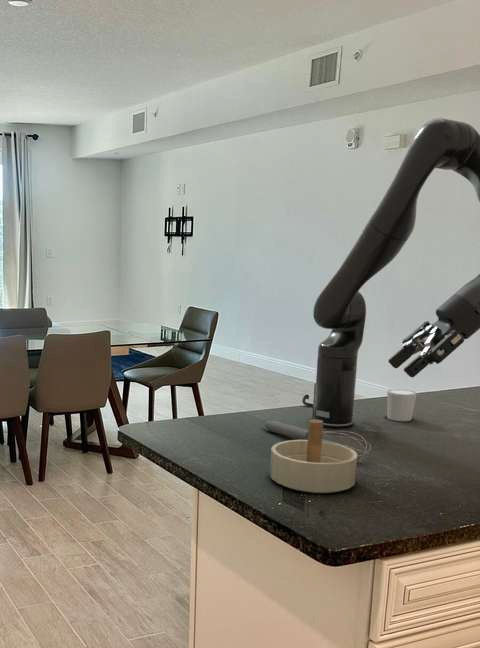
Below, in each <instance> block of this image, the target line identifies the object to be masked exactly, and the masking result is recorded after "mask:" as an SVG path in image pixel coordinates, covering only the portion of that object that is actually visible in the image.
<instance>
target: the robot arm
mask: <svg viewBox="0 0 480 648" xmlns="http://www.w3.org/2000/svg"><path fill="white" fill-rule="evenodd" d="M435 169H440V170H446V171H447V170H448V171H449V170H450V171H453V172H454V173H457V174H459V175H460V176H462V177H463V178H465V179H466V180H467V181H468V182H469V183H470V184H471V185H472V186H473V188H474V191H475V194H476V197H477V201H478V202H479V203H480V133H479V132H478V131H477V130H476V128H475V127H474V126H472V125H471V124H469V123H467V122H465V121H458V120H455V119H454V120H453V119H448V118H443V117H437V118H436V117H435V118H431V119H430V120H428V121H427V122H426V123H425V124H423V125H422V127H421V128H419V130H418V132H417V133H416V135H415V136H414V137H413V139H412V141H411V144H410V145H409V147H408V149H407V151H406V154H405V156H404V158H403V160H402V162H401V164H400V166H399V168H398V170H397V172H396V174H395V176H394V178H393V180H392V181H391V183H390V185H389V187H388V189H387V190H386V192H385V194H384V196H383V198H382V199H381V201H380V202H379V203H378V206H377V207H376V209H375V210H374V212H373V214H372V215H371V216H370V218H369V220H368V221H367V222H366V225H365V226H364V228H363V230H362V231H361V233H360V235H359V237H358V238H357V240H356V242H355V243H354V245H353V246H352V247H351V250H349V253H348V254H347V256H346V258H345V259H344V260H343V262H342V263H341V266H340V267H339V268H338V270H336V272H335V274H334V275H333V277H332V278H331V279H330V280H329V281H328V283H327V284H326V286H325V287H324V288H323V289H322V291H321V292H320V294H319V295H318V297H317V298H316V300H315V302H314V306H313V310H312V311H313V314H312V315H313V320H314V322H315V324H316V325H317V326H318V327H320V328H323V329H327V330H330V331H331V332H330V333H329V335H328V336H327V337H326V338H325V339H324V340H323V341H321V342H320V343H319V344H318V346H317V362H316V376H315V378H316V379H315V383H314V386H313V387H314V388H313V389H314V390H313V399H312V400H313V402H311V403H310V402H307V401H306V400H310V395H309V394H305V395H304V396H303V397H302V400H301V401H302V404H303V405H305V406H307V407H311V408H312V416H311V417H312V418H311V420H312V419H317V420H322V421H323V427H325V428H348V427H351V426H353V425H354V420H353V416H354V408H355V407H354V406H355V405H354V404H355V393H356V382H357V371H358V369H357V367H358V356H359V350H360V348H361V346H362V344H363V341H364V340H363V339H364V332H365V331H364V330H365V326H366V317H367V304H366V301H365V297H364V296H363V294H362V293H361V292H360V290H361V288H363V287H364V285H365V284H366V283H368V281H370V280H371V279H372V278H373V277H374V276H375V275H377V274H378V273H380V271H382V270H383V269H385V268H386V267H387V266H388V265H389V264H390V263H391V262H392V261H393V260H394V259H395V258H396V257H397V256H398V255H399V253H400V252H401V250H402V249H403V248H404V246H405V244H406V242H408V240H409V238H410V237H411V235H412V233H413V231H414V229H415V225H416V219H417V205H418V199H419V195H420V192H421V190H422V188H423V187H424V185H425V183H426V182H427V180H428V178H429V177H430V175H431V174H432V173H433V171H434V170H435ZM435 315H436V317H437V321H435V322H434V323H432V324H431V323H430V321H429V320H426V321H424V322H423V323H422V324H421V325H419V327H417V328H416V329H415V330H413V331H412V332H411V333H409V335H408V336H406V337H405V338H404V339H402V341H401V343H402V347H401V348H399V350H398V351H397V352H395V353H394V354H393V355H392V356H390V358H388V361H387V362H388V363H389V364H390V365H391V366H392V368H394V369H398V368H400V367H402V365H403V364H404V363H405V362H406V361H408V360H410V358H411V357H412V356H413V355H416V354H417V353H420V352H421V353H420V354H418V355H417V356H416V357H414V358H413V360H412V361H410V362H409V363H408V364H407V365H406V366H405V367H404V368H403V372H405V373H406V375H407V376H408V377H409V378H414V377H416V376H417V375H418V374H420V373H421V372H422V371H423V370H424V369H425V368H427V367H428V366H429V365H433V364H435V363H436V365H439V364H440V363H442V362H443V361H444V360H445V359H446V358H448V357H449V356H450V355H451V354H452V353H453V352H455V350H456V349H458V348H459V347H460V346H461V345H463V344H464V343H465V340H468V339H469V338H471V337H472V336H473V335H474V334H475V333H477V332H478V331H479V330H480V273H479V274H478V275H476V276H475V277H474V278H473V279H471V280H470V281H468V282H467V283H465V284H464V285H463V286H462V287H460V288H459V289H458V290H457V291H456V292H455V293H454V294H452V295H451V296H450V297H449V298H448V299H447V300H446V301H444V302H443V303H442V304H441V305H440V306H439V307H437V308H436V309H435Z"/></svg>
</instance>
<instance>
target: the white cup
mask: <svg viewBox="0 0 480 648" xmlns="http://www.w3.org/2000/svg"><path fill="white" fill-rule="evenodd" d="M416 398H417V392H416V391H413V390H409V389H389V390H387V391H386V402H387V404H386V407H387V408H386V409H387V410H386V411H387V412H386V413H387V415H386V416H387V417H386V418H387V419H388V420H391V421H396V422H409V421H412V419H413V413H414V409H415V404H416V400H417V399H416Z"/></svg>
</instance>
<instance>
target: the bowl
mask: <svg viewBox="0 0 480 648" xmlns="http://www.w3.org/2000/svg"><path fill="white" fill-rule="evenodd" d="M307 443H308V440H299V439H289V440H284V441H280V442H277V443H275V444H273V445H272V447H271V449H270V463H269V476H270V478H271V480H273V482H275V483H276V484H278V485H281V486H283V487H285V488H287V489H291V490H294V491H299V492H302V493H303V492H304V493H313V494H331V493H338V492H342V491H346V490H349V489H351V488H352V487H354V486H355V484H356V479H357V478H356V477H357V466H358V462H357V461H358V457H357V456H359V455H358V452H357V451H355V449H354V450H353V448H350V446H349V447H347V446H348V445H346V446H343V445H344V444H342V445H340V444H341V443H339V444H337V443H338V442H335V443H333V442H332V441H331V442H329V441H327V442H326V441H325V440H323V441H322V448H321V462H320V463H315V462H306V458H307Z"/></svg>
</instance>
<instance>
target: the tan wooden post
mask: <svg viewBox="0 0 480 648" xmlns="http://www.w3.org/2000/svg"><path fill="white" fill-rule="evenodd" d="M307 430H308V443H307V458H306V462H315V463H320V462H321V448H322V439H323V436H322V435H324V433H323V432H324V426H323V421H322V420H317V419H312V418H311V419H309V420H308V429H307Z"/></svg>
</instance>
